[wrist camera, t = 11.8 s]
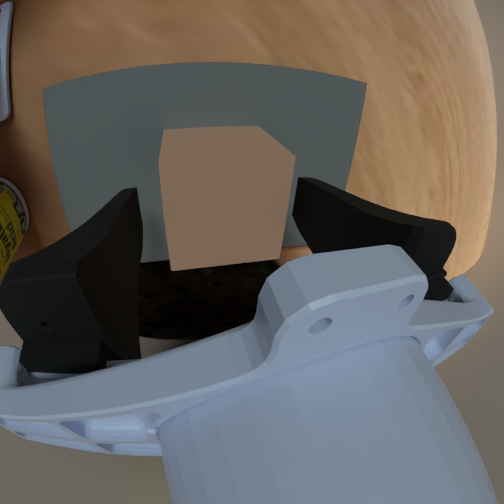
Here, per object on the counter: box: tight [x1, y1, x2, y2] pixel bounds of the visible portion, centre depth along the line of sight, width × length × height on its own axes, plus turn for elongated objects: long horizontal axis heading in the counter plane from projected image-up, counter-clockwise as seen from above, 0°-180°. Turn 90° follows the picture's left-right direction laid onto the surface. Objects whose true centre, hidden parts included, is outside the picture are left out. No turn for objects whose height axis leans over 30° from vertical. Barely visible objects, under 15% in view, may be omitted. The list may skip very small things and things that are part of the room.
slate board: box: [43, 62, 367, 263], centre depth 15 cm, size 18×12×1 cm, turn 85°
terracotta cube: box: [159, 126, 296, 271], centre depth 13 cm, size 5×5×5 cm
